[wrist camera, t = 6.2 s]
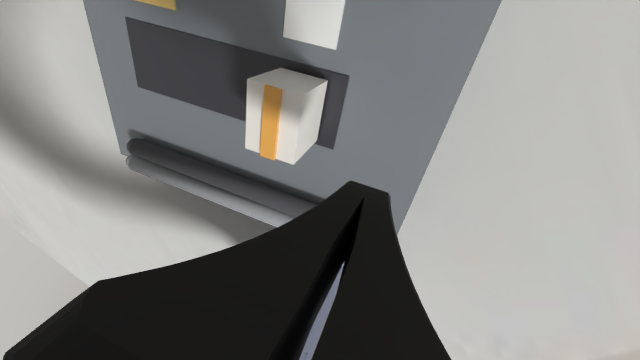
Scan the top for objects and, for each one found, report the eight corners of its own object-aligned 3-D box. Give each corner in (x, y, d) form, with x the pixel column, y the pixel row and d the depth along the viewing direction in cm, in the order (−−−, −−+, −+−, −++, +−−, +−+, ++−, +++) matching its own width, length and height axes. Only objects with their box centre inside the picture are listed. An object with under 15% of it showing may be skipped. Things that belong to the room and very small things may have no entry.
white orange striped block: (316, 140, 17) (291, 166, 14) (275, 127, 18) (243, 149, 15) (327, 80, 15) (301, 95, 12) (280, 67, 16) (244, 79, 13)
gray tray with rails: (355, 247, 21) (350, 261, 20) (133, 161, 25) (118, 168, 24) (453, -38, 11) (455, -44, 10) (74, -101, 16) (45, -111, 14)
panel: (391, 238, 22) (387, 257, 20) (140, 145, 26) (119, 154, 25) (523, -66, 12) (537, -79, 10) (85, -127, 17) (45, -144, 15)
